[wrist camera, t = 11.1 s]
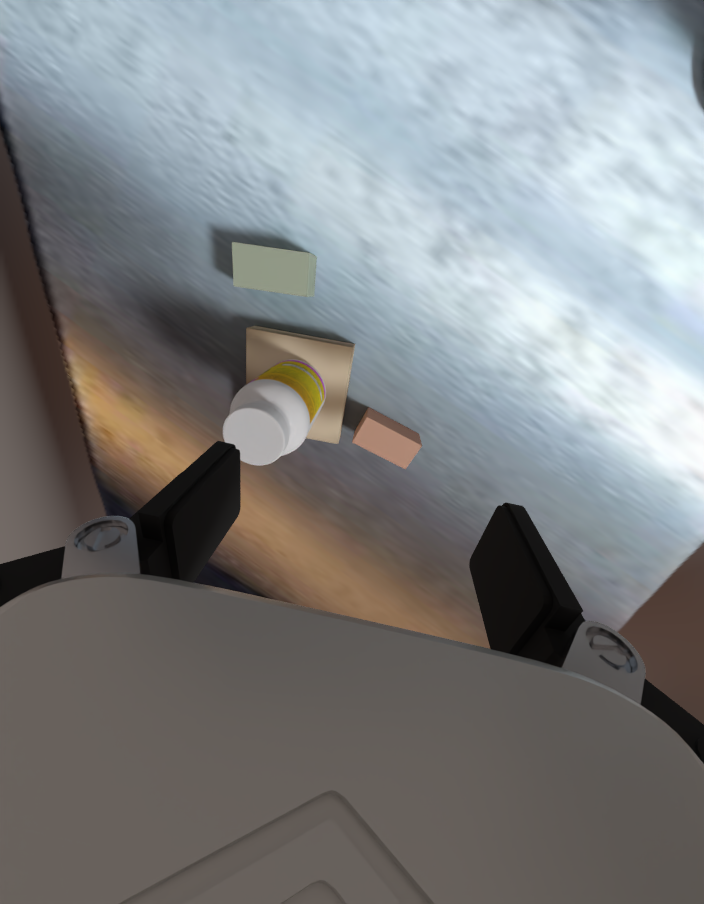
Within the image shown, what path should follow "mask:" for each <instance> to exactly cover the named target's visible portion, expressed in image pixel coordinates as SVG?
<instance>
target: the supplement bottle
mask: <svg viewBox="0 0 704 904" xmlns="http://www.w3.org/2000/svg"><path fill="white" fill-rule="evenodd" d="M325 398H326V387H325V383H324V380H323V378H322V376H321V375H320V373H319V372H318V371H317V370H316V369H315V368H314V367H313V366H312V365H310V364H309V363H307V362H304V361H301V360H296V359H289V360H284V361H281V362H279V363H277V364H276V365H274V366H273V367H271V368H270V369H268V370H267V371H265V372H264V373H263V374H261V375H260V376H258V377H257V378H255V379H254V380H253V381H251V382H250V383H248V384H247V385H245V386H244V387H243V388H241V389H240V390H239V391H238V392H237V394H236V395H235V397H234V399H233V401H232V403H231V408H230V414H229V415H228V417H227V418H226V420H225V422H224V425H223V437H224V441H225V442H226V443H230V444H234V445H235V446H236V449H239V450H240V460H242V461H243V462H246V463H248V464H252V465H267V464H270V463H272V462H274V461H276V460H277V459H278V458H279V457H280V456H282V455H286V454H289V453H291V452H293V451H294V450H296V449H297V448H298V447H299V446H300V445H301V444H302V443H303V441H304V440H305V438H306V436H307V434H308V432H309V430H310V429H311V427H312V425H313V423H314V421H315V419H316V417H317V416H318V414H319V412H320V410H321V408H322V406H323V404H324V402H325Z"/></svg>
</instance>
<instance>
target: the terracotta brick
mask: <svg viewBox="0 0 704 904" xmlns="http://www.w3.org/2000/svg"><path fill="white" fill-rule="evenodd" d="M352 442H353V443H355V444H357V445H359V446H361V447H363V448H365V449H367V450H369V451H370V452H372V453H374V454H376V455H378V456H380V457H382V458H384V459H386V460H388V461H390V462H392V463H394V464H396V465H398V466H400V467H402V468H404V469H406V468H407V466H408V465H409V463H410V462H411V461H412V459H413V458H414V456H415V455H416V454H417V452H418V451H419V449H420V448H421V447H422V444H421V440H420V436H419V434H418V433H416V432H414V431H413V430H411V429H409V428H407V427H405V426H403V425H401V424H399V423H397V422H396V421H394V420H392V419H390V418H388V417H386V416H384V415H382V414H380V413H379V412H377V411H375V410H373V409H371V408H369V407H368V409H367V410H366V412H365V414H364V416H363V417H362V419H361V421H360V423H359V424H358V426H357V428H356V430H355V432H354V437H353V441H352Z"/></svg>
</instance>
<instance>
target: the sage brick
mask: <svg viewBox="0 0 704 904" xmlns="http://www.w3.org/2000/svg"><path fill="white" fill-rule="evenodd" d="M232 258H233V282H234V286H236V287H243V288H250V289H256V290H263V291H270V292H277V293H284V294H291V295H298V296H304V297H314V291H315V275H316V260H317V257H316V256H314V255H312V254H310V253H306V252H299V251H292V250H285V249H278V248H271V247H264V246H257V245H250V244H243V243H236V242H232Z"/></svg>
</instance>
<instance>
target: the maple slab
mask: <svg viewBox="0 0 704 904" xmlns="http://www.w3.org/2000/svg"><path fill="white" fill-rule="evenodd" d="M354 348H355V344H352V343H346V342H341V341H336V340H330V339H325V338H319V337H314V336H308V335H303V334H298V333H292V332H287V331H281V330H276V329H270V328H265V327H260V326H252V327H249V328H246V385H247V384H248V383H250V382H251V381H253V380H254V379H255V378H257V377H258V376H260V375H261V374H263V373H264V372H265V371H267V370H268V369H270V368H271V367H273V366H274V365H276V364H277V363H279V362H281V361H284V360H289V359H296V360H301V361H304V362H307V363H309V364H310V365H312V366H313V367H314V368H315V369H316V370H317V371H318V372H319V373H320V375H321V376H322V378H323V380H324V383H325V387H326V398H325V402H324V404H323V406H322V408H321V410H320V412H319V414H318V416H317V417H316V419H315V421H314V423H313V425H312V427H311V429H310V430H309V432H308V434H307V436H306V438H309V439H314V440H319V441H325V442H330V443H335V444H338V442H339V439H340V436H341V429H342V423H343V417H344V411H345V404H346V398H347V392H348V386H349V379H350V373H351V367H352V361H353V354H354Z"/></svg>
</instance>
